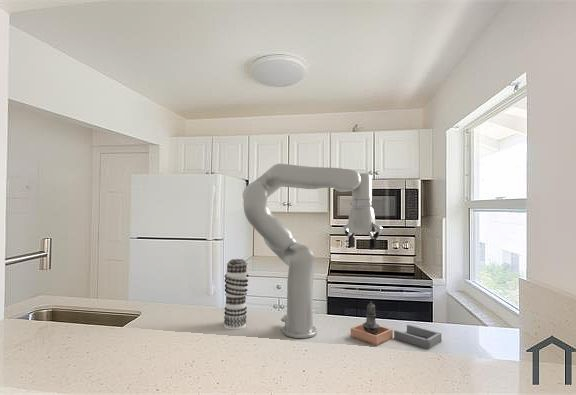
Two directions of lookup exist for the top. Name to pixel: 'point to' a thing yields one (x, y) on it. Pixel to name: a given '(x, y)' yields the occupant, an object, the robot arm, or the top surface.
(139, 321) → the top surface
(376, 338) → the dish
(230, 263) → the striped cylinder tower
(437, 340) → the cubby
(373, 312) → the chess piece
